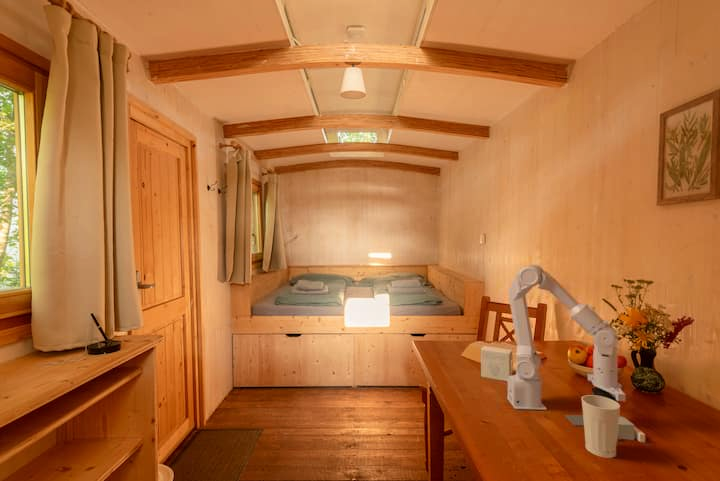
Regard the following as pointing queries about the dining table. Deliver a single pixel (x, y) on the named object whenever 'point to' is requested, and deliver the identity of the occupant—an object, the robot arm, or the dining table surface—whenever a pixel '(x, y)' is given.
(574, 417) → the mat
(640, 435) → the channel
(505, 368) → the skincare box
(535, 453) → the dining table surface
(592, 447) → the cup
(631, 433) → the block
